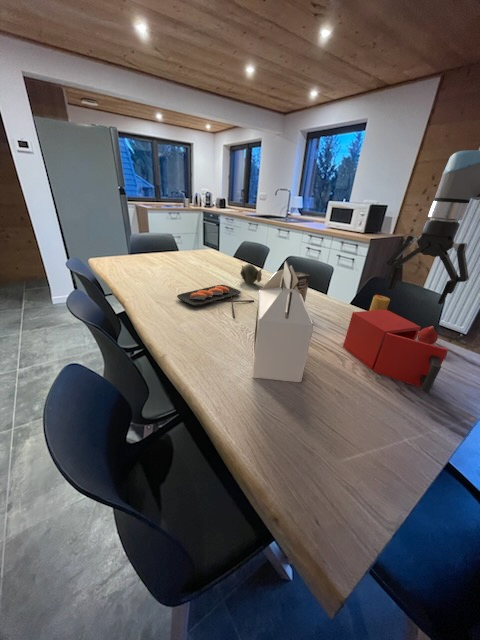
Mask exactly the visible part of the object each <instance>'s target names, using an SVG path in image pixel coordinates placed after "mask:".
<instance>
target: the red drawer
mask: <svg viewBox="0 0 480 640" xmlns="http://www.w3.org/2000/svg"><path fill="white" fill-rule="evenodd" d="M448 352H449V349H448V348H445V347H442V346H438V345H434V344H427V343H424V342H420V341H419V340H417V339H416V340H413V339H409V338H405V337H402V336H398V335H394V334H390V333H387V334H386V337H385V340H384V343H383V345H382V348H381V351H380V354H379V356H378V359H377V362H376V365H375V368H374V369H373V373H376V374H380V375H381V376H386V377H388V378H392V379H395V380H397V381H400V382H402V383H403V382H404V383H406V384H409V385H412V386H414V387H415V386H416V387H418V388H420V391H421V392H422V393H425V394H429V393H430V391H431V389H432V387H433V386H434V383H435V381H436V378H437V377H438V375H439V373H440V371H441V368H442V364H443V362H444V360H445V358H446V357H447V354H448Z"/></svg>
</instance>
